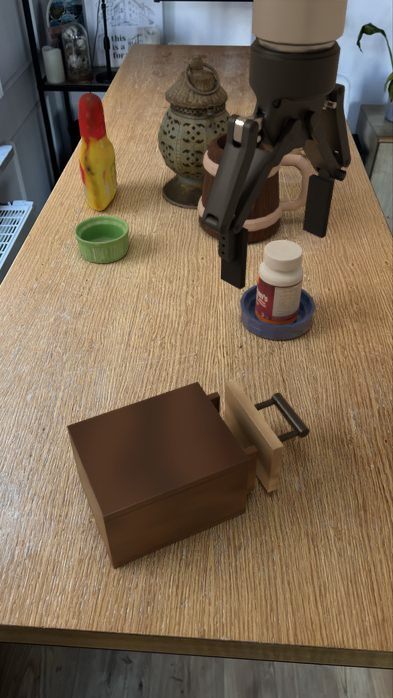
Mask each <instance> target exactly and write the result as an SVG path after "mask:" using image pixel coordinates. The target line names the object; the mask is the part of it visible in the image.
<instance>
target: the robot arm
mask: <svg viewBox="0 0 393 698" xmlns="http://www.w3.org/2000/svg"><path fill="white" fill-rule="evenodd" d="M348 2H349V0H253V4H252V7H253V8H252V21H251V33H252V34H253V36H254V37H255V39H254V40H253V42H252V43H251V44H250V46H249V66H248V67H249V70H248V84H249V87H250V88H251V90H252V92H253V93H254V95H255V98H256V101H255V106H254V109H253V113H252V115H251V114H250V115H246V116H242V115H240V114H236V113H232V114H230V118H229V121H228V129H227V139H226V144H225V147H224V150H223V154H222V157H221V160H220V163H219V166H218V169H217V172H216V175H215V178H214V181H213V184H212V188H211V191H210V194H209V197H208V200H207V203H206V206H205V209H204V212H203V215H202V218H201V224H202V225H203V226H205V227H207V228H209V229H211V230H213V231H215V232H217V233H218V239H217V254H218V257H219V258H220V280H221V281H223V282H225V283H226V284H229V285H231V286H232V287H234V288H236V289H237V290H239V291H240V290H242V289H244V288H246V279H247V261H248V245H249V243H248V229H246V228H244V227H243V225H244V223H245V221H246V219H247V217H248V215H249V213H250V211H251V209H252V207H253V205H254V203H255V201H256V200H257V198H258V196H259V194H260V192H261V190H262V188H263V186H264V184H265V182H266V180H267V178H268V176H269V174H270V172H271V170H272V168H274V167H276V166H278V165H279V164H280V163H281V161H282V159H283V157H284V156H285V155H287V154H289V153H290V152H291V151H292V150H294V149H299V148H302V149H303V152H304V154H305V156H306V157H307V159H308V162H309V164H310V166H311V167H312V168H313V171H314V172H315V173H317V174H315V173H314V174H313V175H311V176H309V182H308V190H307V198H306V205H304V207H305V208H304V213H303V214H304V215H303V223H302V231H304V232H306V233H309V234H311V235H313V236H315V237H318V238H320V239H323V238H325V237H326V236H327V232H328V225H329V219H330V212H331V206H332V200H333V194H334V189H335V182H336V181H338V182H344V181H345V179H346V178H347V177H346V176H347V170H345V169H348V168H349V167H350V166H351V163H352V155H351V147H350V141H349V135H348V128H347V121H346V115H345V108H344V106H345V105H344V104H345V95H346V86H345V85H344V84H342V83H338V82H337V78H338V71H339V64H340V56H341V50H342V48H341V46H340V44H339V42H338V40H339V39H340V38H341V37H343V36H344V32H345V26H346V25H345V24H346V17H347V9H348ZM261 142H262V144H263V146H264V148H265V149H266V150H268V151H271V152H266V151H263V150H261V149H258V148H259V146H260V144H261ZM342 168H344V169H342ZM234 215H235V217H234V218H233V216H234Z"/></svg>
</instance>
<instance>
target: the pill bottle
mask: <svg viewBox="0 0 393 698" xmlns="http://www.w3.org/2000/svg"><path fill="white" fill-rule="evenodd" d="M303 254H304V249H303V247H301V245H300V244H298V243H296V242H294V241H292V240H288V239H276V240H272V241H270V242H268V243H266V245H265V247H264V249H263V256H262V260H263V261H262V262H261V263H260V264H259V267H258V271H257V273H258V274H257V284H256V285H257V296H256V311H255V313H256V317H257V318H258V320H259V321H261V322H264V323H269V324H273V325H290V324H292V323H293V322H294V321H295V320H296V319H297V316H298V310H299V303H300V296H301V289H303V281H304V266H303V265H302V263H303V256H304V255H303Z"/></svg>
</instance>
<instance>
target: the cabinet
mask: <svg viewBox="0 0 393 698" xmlns="http://www.w3.org/2000/svg"><path fill="white" fill-rule="evenodd" d="M203 388H204V387H202V385H201V384H200V382H199V381H194V382H192V383H188V384H187V385H186V384H185V385H183V386H180V387H178V388H175V389H172V390H169V391H166V392H163V393H160V394H156V395H154V396H151V397H147V398H145V399H141V400H139V401H136V402H133V403H130V404H127V405H124V406H120V407H118V408H115V409H113V410H109V411H106V412H103V413H100V414H97V415H95V416H91V417H88V418H85V419H82V420H80V421H77V422H73V423H71V424H68V425H66V430H67V433H68V437H69V442H70V446H71V450H72V455H73V459H74V463H75V467H76V472H77V475H78V480H79V482H80V484H81V487H82V490H83V493H84V496H85V499H86V500H87V503H88V506H89V508H90V510H91V513H92V516H93V518H94V521H95V524H96V526H97V529H98V533H99V535H100V537H101V540H102V542H103V544H104V547H105V550H106V553H107V555H108V558H109V561H110V563H111V565H112V568H113V569H116V568H118V567H121V566H124V565H125V564H128V563H130V562H133V561H134V560H135V561H136V560H137V559H139V558H142V557H144V556H147V555H149V554H152V553H153V552H156V551H158V550H161V549H163V548H166V547H168V546H170V545H173V544H175V543H178V542H180V541H182V540H184V539H187V538H190V537H191V536H193V535H196V534H199V533H201V532H204V531H206V530H207V529H210V528H212V527H215V526H217V525H219V524H222V523H225V522H226V521H229V520H231V519H234V518H236V517H238V516H240V515H243V514H245V513H246V507H247V496H248V493H247V485H248V473H249V458H248V456H247V455H246V453H245V452H244V450H243V449H242V447H241V446H240V444H239V443H238V441H237V440H236V438H235V437H234V435H233V434H232V432H231V431H230V429H229V428H228V426H227V425H226V423H225V422H224V418H223V417H222V415H221V413H220V414H219V413H218V411H217V410H216V408H215V407H214V405H213V404H212V402H211V401H210V399H209V397H208V396H207V395H208V394H207V393H206V392H205V390H204V389H203Z"/></svg>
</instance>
